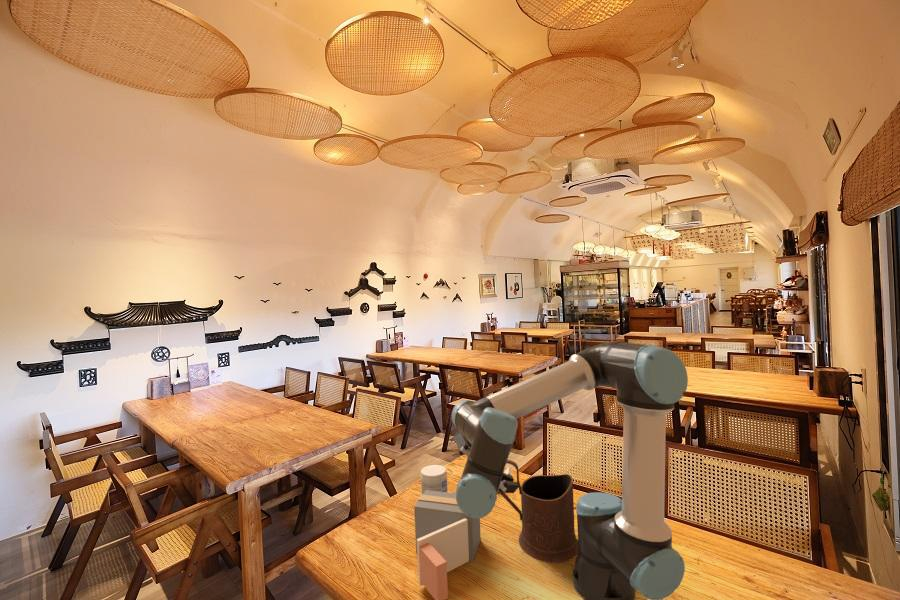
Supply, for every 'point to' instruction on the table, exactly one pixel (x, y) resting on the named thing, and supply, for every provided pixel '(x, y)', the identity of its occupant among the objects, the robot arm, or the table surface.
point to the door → (442, 556)
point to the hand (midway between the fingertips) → (487, 453)
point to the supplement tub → (434, 478)
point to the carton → (443, 517)
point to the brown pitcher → (547, 517)
